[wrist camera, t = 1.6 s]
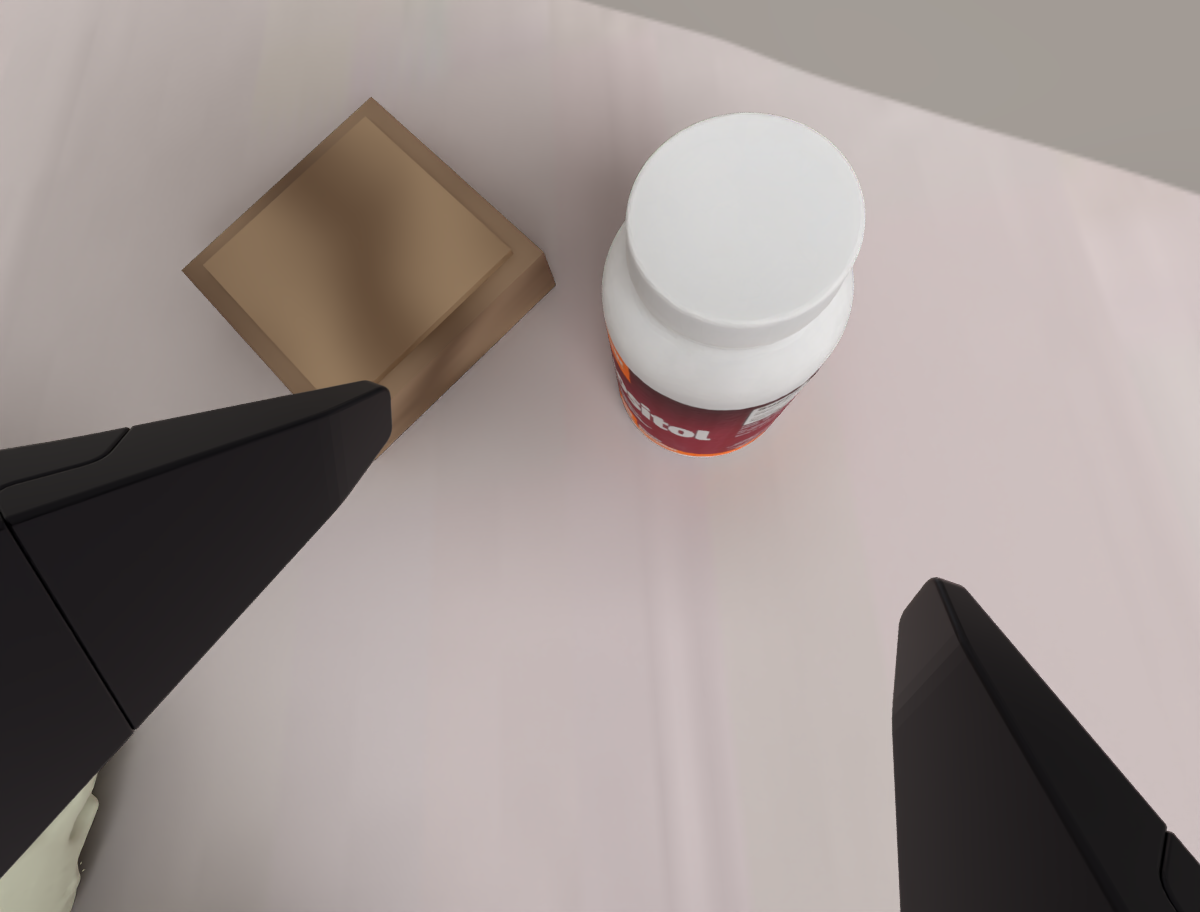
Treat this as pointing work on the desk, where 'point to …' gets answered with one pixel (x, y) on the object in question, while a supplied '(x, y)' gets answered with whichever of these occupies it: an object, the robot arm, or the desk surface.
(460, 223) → the plinth
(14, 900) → the wavy plaster lump
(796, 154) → the pill bottle
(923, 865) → the robot arm
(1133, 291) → the desk surface
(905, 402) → the desk surface
